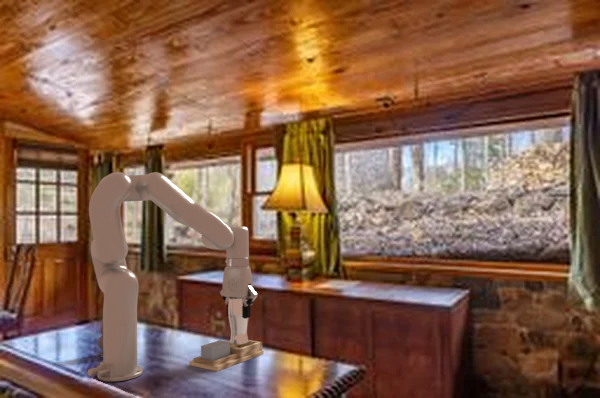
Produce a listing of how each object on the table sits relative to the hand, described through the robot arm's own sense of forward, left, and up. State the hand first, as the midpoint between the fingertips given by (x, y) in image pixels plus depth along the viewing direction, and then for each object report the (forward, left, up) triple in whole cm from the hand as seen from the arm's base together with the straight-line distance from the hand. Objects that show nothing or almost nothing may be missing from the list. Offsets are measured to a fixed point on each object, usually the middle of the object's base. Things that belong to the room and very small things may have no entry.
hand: (238, 316), depth 169 cm
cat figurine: (-23, +38, -13) cm, 46 cm away
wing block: (-11, 0, -12) cm, 16 cm away
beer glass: (0, 0, -9) cm, 9 cm away
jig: (-6, 0, -13) cm, 14 cm away
